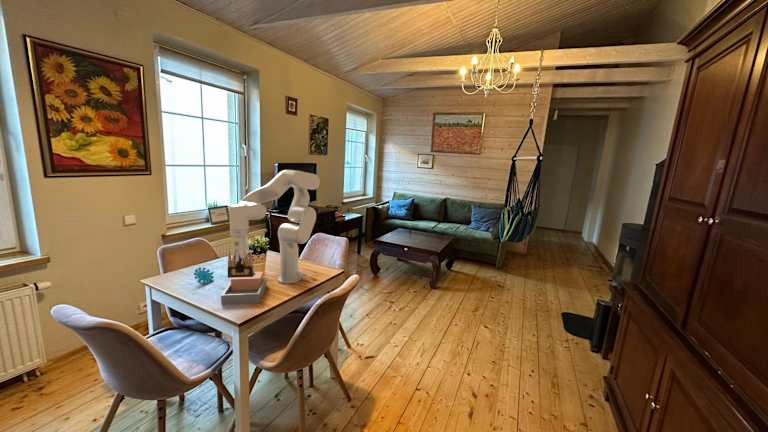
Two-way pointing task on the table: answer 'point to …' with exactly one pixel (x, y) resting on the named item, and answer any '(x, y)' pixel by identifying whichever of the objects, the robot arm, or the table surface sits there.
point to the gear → (203, 275)
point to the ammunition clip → (247, 267)
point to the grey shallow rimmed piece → (242, 295)
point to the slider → (247, 282)
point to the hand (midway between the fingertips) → (240, 271)
